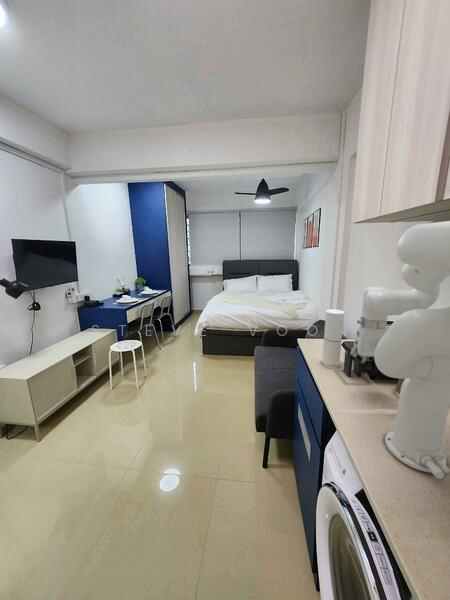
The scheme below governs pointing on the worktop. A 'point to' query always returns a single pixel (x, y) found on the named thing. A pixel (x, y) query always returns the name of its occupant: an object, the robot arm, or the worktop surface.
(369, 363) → the lever
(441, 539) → the worktop surface
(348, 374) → the bracket
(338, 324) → the cylindrical container
